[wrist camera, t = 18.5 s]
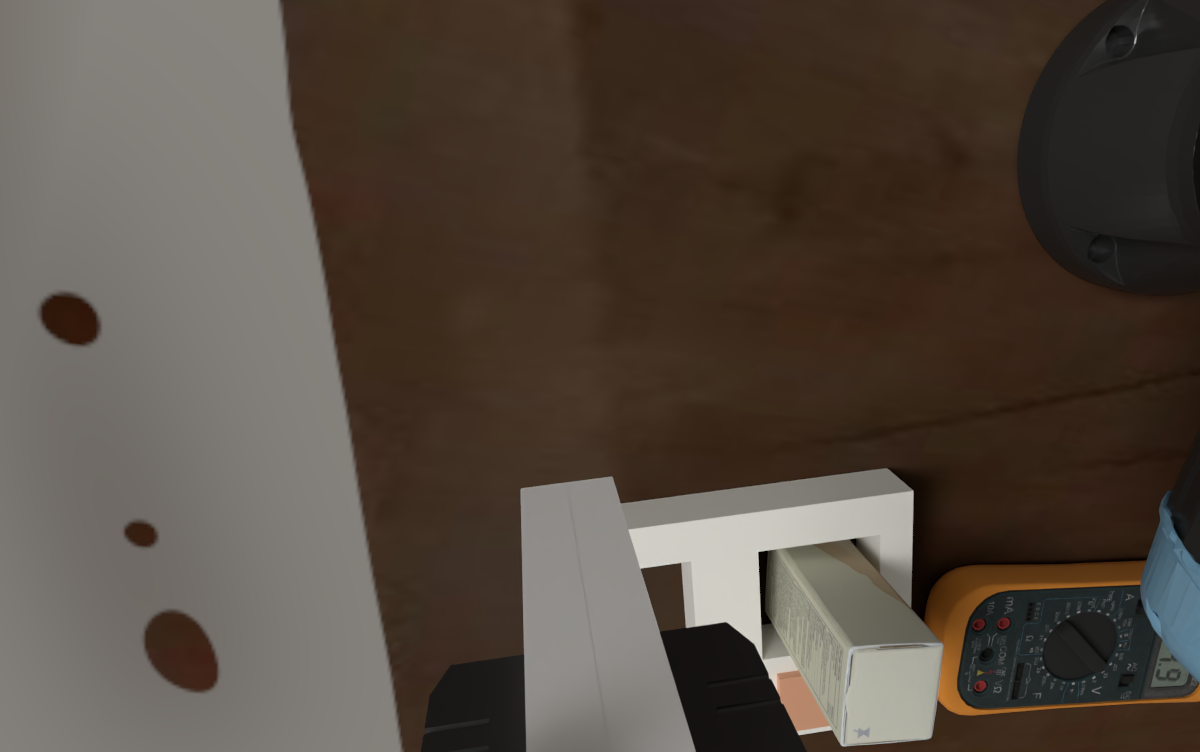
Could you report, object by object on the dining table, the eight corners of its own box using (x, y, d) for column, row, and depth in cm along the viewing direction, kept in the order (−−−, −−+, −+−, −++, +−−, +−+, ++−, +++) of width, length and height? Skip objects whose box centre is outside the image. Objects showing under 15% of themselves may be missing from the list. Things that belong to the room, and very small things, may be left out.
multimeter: (923, 558, 45) (955, 589, 42) (1207, 547, 47) (1259, 577, 44) (905, 684, 48) (934, 724, 44) (1176, 669, 50) (1223, 706, 46)
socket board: (887, 468, 43) (918, 494, 40) (884, 683, 47) (912, 723, 44) (523, 516, 41) (524, 548, 38) (552, 734, 45) (555, 780, 42)
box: (834, 607, 45) (932, 747, 35) (761, 611, 45) (839, 754, 34) (843, 524, 44) (948, 644, 33) (768, 527, 43) (851, 649, 33)
